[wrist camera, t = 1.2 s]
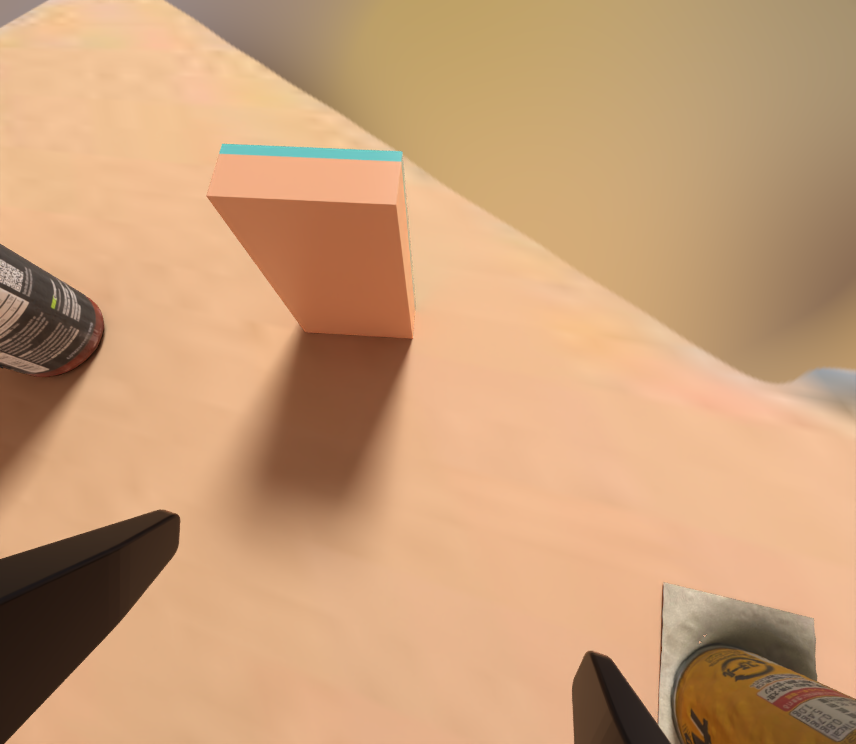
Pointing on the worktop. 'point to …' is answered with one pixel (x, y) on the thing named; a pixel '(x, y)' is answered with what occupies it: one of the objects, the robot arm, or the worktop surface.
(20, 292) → the supplement bottle
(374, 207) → the tile
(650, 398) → the worktop surface
